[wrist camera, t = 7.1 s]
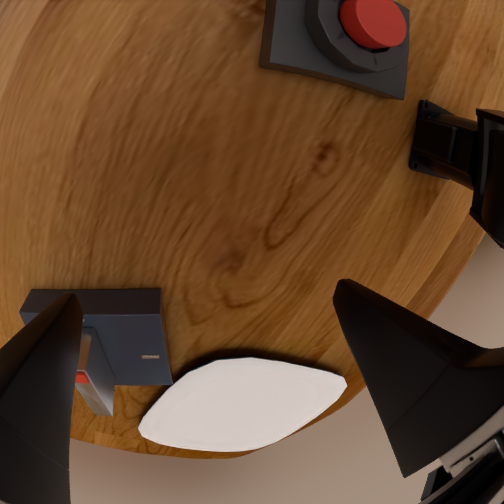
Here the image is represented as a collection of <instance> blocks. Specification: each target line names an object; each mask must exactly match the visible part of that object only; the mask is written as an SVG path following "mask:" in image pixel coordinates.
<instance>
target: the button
mask: <svg viewBox="0 0 504 504" xmlns="http://www.w3.org/2000/svg"><path fill="white" fill-rule="evenodd" d="M340 21H341V24H342V26H343V28H344V30H345V31H346V33H347V34H348V35H349V37H350V38H351V39H352V40H354V41H355V42H356V43H358V44H359V45H361V46H363V47H366V48H370V49H378V48H386V47H394V46H397V45H399V44H401V43H402V42H403V40H404V39H405V36H406V23H405V19H404V16H403V14H402V12H401V11H400V9H399V8H398V6H397V5H396V4H395V3H394V2H393V1H392V0H345V1H344V2H343V4H342V5H341V8H340Z"/></svg>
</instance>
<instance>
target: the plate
mask: <svg viewBox="0 0 504 504" xmlns="http://www.w3.org/2000/svg"><path fill="white" fill-rule="evenodd" d="M346 387H347V384H346V382H345V379H344V377H343V376H340V375H338V374H335V373H332V372H330V371H326V370H322V369H317V368H313V367H309V366H304V365H299V364H295V363H290V362H286V361H281V360H273V359H266V358H259V357H253V356H248V357H236V358H222V359H215V360H213V361H211V362H208V363H206V364H204V365H201V366H199V367H197V368H194V369H192V370H190V371H187V372H186V373H185V374H184V375H183V376H182V377H180V378H179V379H178V380H177V381H176V382H175V383H173V384H172V385H171V386H170V387H169V388H167V390H166V391H165V392H164V393H163V394H162V395H161V396H160V397H159V398H158V400H157V401H156V402H155V403H154V404H153V405H152V406H151V408H150V409H149V410H148V411H147V412H146V414H145V415H144V416H143V418H142V420H141V422H140V424H139V426H138V429H139V431H140V433H141V435H142V437H145V438H147V439H149V440H151V441H154V442H156V443H158V444H163V445H167V446H173V447H178V448H185V449H193V450H204V451H220V452H232V451H246V450H252V449H258V448H261V447H264V446H267V445H269V444H272V443H275V442H277V441H279V440H280V439H282V438H284V437H286V436H288V435H290V434H291V433H293V432H294V431H296V430H298V429H299V428H301V427H302V426H304V425H305V424H307V423H308V422H310V421H311V420H312V419H314V418H315V417H317V416H318V415H319V414H321V413H322V412H323V411H325V410H326V409H327V408H328V407H329V406H331V405H332V404H333V403H334V402H335V401H336V400H338V398H339V397H340V396H341V394H342V393H343V391H344V390H345V388H346Z"/></svg>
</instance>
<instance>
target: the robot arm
mask: <svg viewBox="0 0 504 504" xmlns="http://www.w3.org/2000/svg"><path fill="white" fill-rule="evenodd" d="M424 104H425V106H424ZM476 115H477V122H476V121H473V120H469V119H466V118H462V117H458V116H455V115H453V114H452V113H450V112H448V111H446V110H445V109H443V108H441V107H439V106H437V105H435V104H433V103H431V102H429V101H427V100H423V99H422V100H421V101H420V103H419V110H418V117H417V123H416V129H415V135H414V141H413V146H412V151H411V156H410V161H409V168H410V169H411V170H414V171H417V172H421V173H425V174H429V175H433V176H437V177H440V178H444V179H447V180H449V179H451V180H453V181H455V182H457V183H459V184H461V185H463V186H465V187H467V188H469V189H471V190H473V191H474V192H473V200H472V206H471V208H470V213H469V214H470V215H471V216H472V217H473V218H474V219H475V221H476V222H477V223H478V224H479V225H480V226H481V227H482V228H483V229H484V230H485V231H486V232H487V233H488V234H489V235H490V236H491V238H492V239H493V240H494V241H495V242H496V243H497V244H498V245H499V246H500V247H501V248H503V249H504V112H503V111H498V110H489V109H478V108H476ZM414 163H415V164H414ZM333 305H334V308H335V310H336V313H337V316H338V319H339V322H340V325H341V328H342V331H343V333H344V336H345V339H346V341H347V343H348V345H349V348H350V350H351V352H352V354H353V356H354V358H355V361H356V363H357V365H358V367H359V370H360V372H361V374H362V376H363V379H364V381H365V383H366V385H367V388H368V390H369V392H370V395H371V397H372V399H373V402H374V404H375V406H376V409H377V411H378V414H379V416H380V418H381V421H382V423H383V426H384V428H385V431H386V433H387V436H388V439H389V441H390V444H391V446H392V449H393V451H394V454H395V457H396V459H397V462H398V465H399V467H400V470H401V473H402V475H403V477H404V478H406V477H408V476H410V475H411V474H413V473H415V472H417V471H418V470H420V469H422V468H423V467H425V466H427V465H428V464H430V463H431V462H433V461H435V460H436V459H438V458H439V459H440V461H441V463H442V465H440V466H439V467H438V468H436V469H435V470H433V471H432V472H430V473H429V474H428V477H427V481H426V484H425V487H424V491H423V494H422V497H421V501H422V502H420V503H419V504H504V347H501V348H495V349H488V348H483V347H480V346H478V345H476V344H474V343H472V342H469V341H467V340H465V339H463V338H461V337H459V336H457V335H454V334H453V333H450V332H448V331H447V330H445V329H442V328H441V327H439V326H437V325H435V324H433V323H432V322H430V321H428V320H427V321H426V319H424V318H422V317H421V316H419V315H417V314H415V313H413V312H411V311H409V310H408V309H406V308H404V307H402V306H400V305H398V304H397V303H395V302H393V301H391V300H389V299H387V298H385V297H383V296H382V295H380V294H378V293H376V292H374V291H372V290H370V289H368V288H367V287H365V286H363V285H361V284H359V283H357V282H355V281H353V280H351V279H341V280H339V281H338V283H337V286H336V289H335V293H334V296H333ZM82 324H83V312H82V309H81V306H80V303H79V300H78V297H77V295H76V294H75V293H63V294H62V295H61V296H60V297H58V298H57V299H56V300H55V301H54V302H52V303H51V304H50V305H49V306H48V307H46V308H45V309H44V310H43V311H42V312H40V313H39V314H38V315H37V316H36V317H35V318H34V319H32V320H31V321H30V322H29V323H28V324H27V325H26V326H25V327H23V328H22V329H21V330H20V331H19V332H18V333H17V334H16V335H15V336H14V337H12V338H11V339H10V340H9V341H8V342H7V343H6V344H5V345H4V346H3V347H2V348H1V349H0V504H71V502H70V483H69V470H68V469H69V443H70V426H71V414H72V404H73V396H74V388H75V381H76V374H77V368H78V362H79V355H80V344H81V333H82Z"/></svg>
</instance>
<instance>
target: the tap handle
mask: <svg viewBox="0 0 504 504" xmlns="http://www.w3.org/2000/svg"><path fill="white" fill-rule="evenodd" d="M75 386H76V388H77V389H78V391H79V392H80V394H81V395H82V397H83V398H84V400H85V401H86V403H87V404H88V405H89V407H90V408H91V410H92V411H93V412H94V414H95V415H103V416H113V399H114V386H115V377H114V375H113V373H112V370H111V368H110V366H109V364H108V361H107V359H106V357H105V354H104V352H103V349H102V347H101V344H100V342H99V339H98V337H97V334H96V331H95V329H94V328H82V333H81V344H80V355H79V362H78V368H77V374H76V381H75Z"/></svg>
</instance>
